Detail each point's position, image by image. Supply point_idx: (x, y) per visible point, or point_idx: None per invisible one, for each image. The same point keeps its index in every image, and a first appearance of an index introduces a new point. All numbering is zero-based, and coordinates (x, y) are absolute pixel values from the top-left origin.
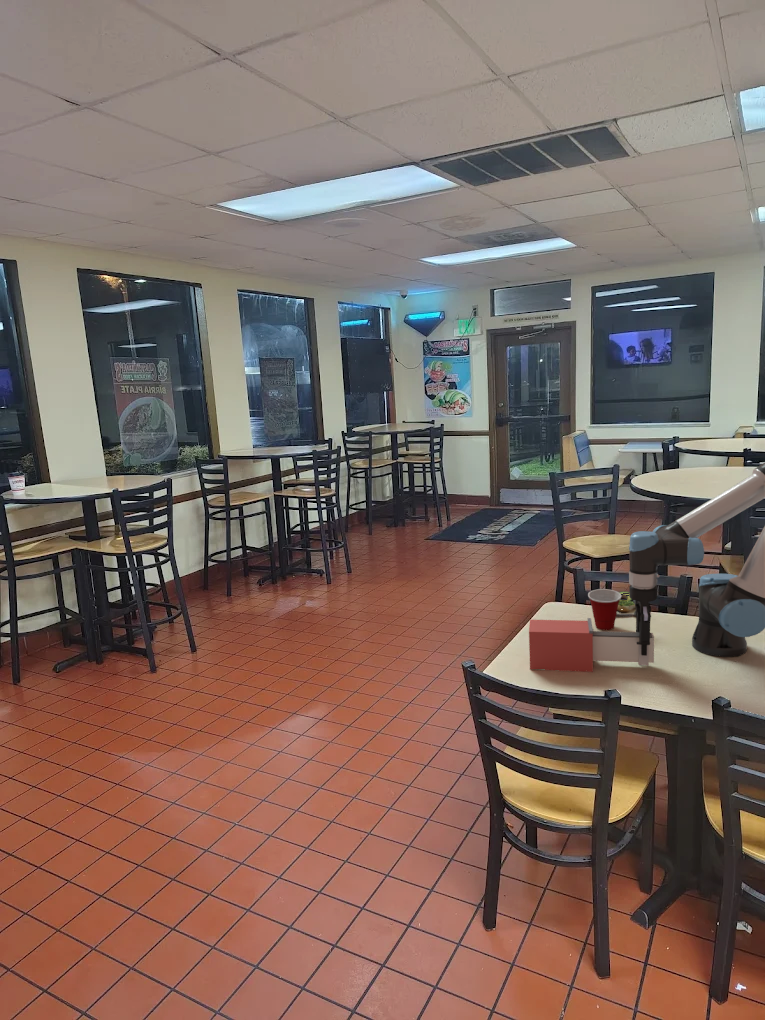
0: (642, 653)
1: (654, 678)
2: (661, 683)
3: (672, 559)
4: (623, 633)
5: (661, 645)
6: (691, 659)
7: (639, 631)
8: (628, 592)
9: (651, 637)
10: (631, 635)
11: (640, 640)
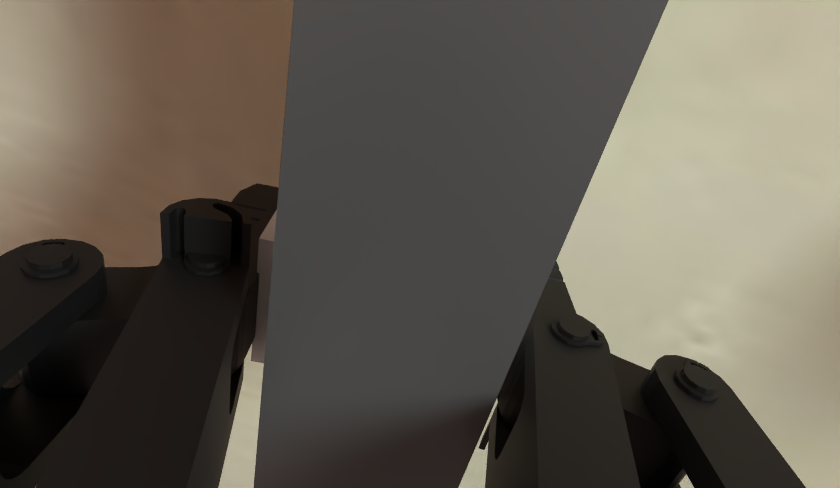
0: (235, 203)
1: (163, 174)
2: (72, 193)
3: None
4: (508, 35)
5: (752, 411)
6: (476, 472)
7: (123, 455)
8: None
9: (256, 481)
10: (326, 208)
11: (13, 294)
